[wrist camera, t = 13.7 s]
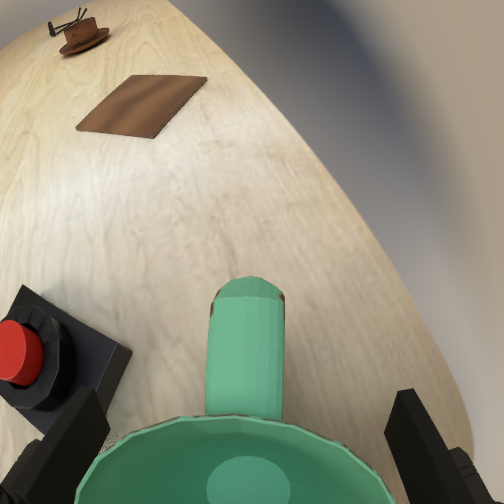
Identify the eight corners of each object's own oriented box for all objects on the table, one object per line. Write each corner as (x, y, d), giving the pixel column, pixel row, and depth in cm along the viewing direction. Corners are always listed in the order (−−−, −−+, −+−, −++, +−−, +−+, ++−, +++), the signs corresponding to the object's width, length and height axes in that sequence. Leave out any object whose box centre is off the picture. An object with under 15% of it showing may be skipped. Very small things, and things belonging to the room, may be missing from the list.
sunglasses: (91, 19, 66) (88, 6, 62) (51, 38, 62) (46, 26, 58) (84, 15, 73) (81, 4, 69) (49, 32, 69) (45, 22, 65)
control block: (133, 351, 18) (104, 334, 14) (89, 454, 14) (53, 458, 11) (38, 295, 20) (8, 272, 16) (0, 379, 16) (-34, 367, 13)
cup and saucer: (111, 42, 47) (104, 18, 41) (58, 65, 45) (49, 42, 40) (110, 30, 52) (105, 9, 47) (65, 49, 51) (57, 30, 45)
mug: (328, 553, 11) (377, 639, 2) (163, 544, 11) (87, 616, 3) (335, 334, 18) (395, 252, 9) (175, 330, 19) (103, 248, 10)
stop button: (52, 345, 14) (34, 336, 13) (31, 396, 13) (11, 392, 11) (19, 320, 15) (2, 310, 14) (-1, 366, 14) (-19, 359, 12)
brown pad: (207, 80, 33) (206, 76, 33) (153, 138, 28) (152, 135, 27) (132, 77, 36) (131, 74, 35) (76, 130, 30) (75, 127, 30)
